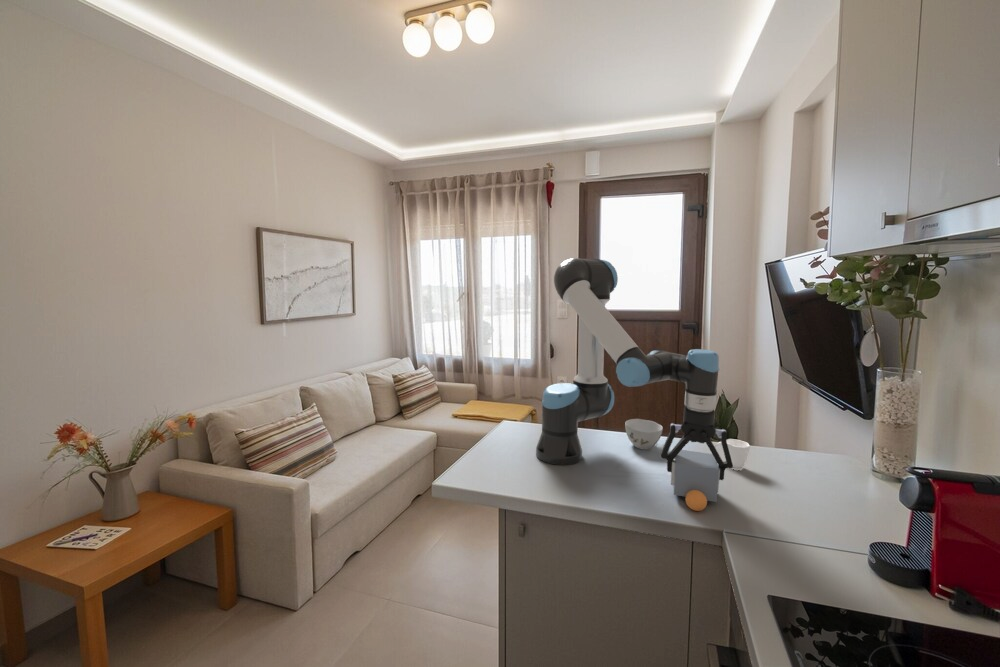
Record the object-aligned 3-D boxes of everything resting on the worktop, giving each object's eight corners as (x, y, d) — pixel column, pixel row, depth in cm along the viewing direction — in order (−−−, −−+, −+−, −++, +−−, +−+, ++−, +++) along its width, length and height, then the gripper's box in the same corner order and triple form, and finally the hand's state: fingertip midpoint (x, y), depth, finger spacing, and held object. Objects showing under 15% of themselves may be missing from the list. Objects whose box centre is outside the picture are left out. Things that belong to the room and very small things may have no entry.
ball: (683, 497, 112) (684, 512, 108) (686, 484, 110) (687, 499, 106) (704, 501, 110) (706, 517, 106) (707, 487, 108) (709, 503, 104)
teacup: (649, 457, 140) (650, 433, 139) (616, 445, 149) (617, 423, 148) (671, 445, 150) (673, 423, 149) (639, 435, 159) (640, 414, 158)
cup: (745, 474, 128) (747, 449, 127) (709, 465, 134) (711, 440, 133) (750, 467, 133) (752, 442, 132) (715, 458, 140) (717, 434, 139)
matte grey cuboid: (673, 494, 113) (676, 463, 111) (672, 477, 122) (674, 448, 121) (716, 502, 109) (719, 469, 108) (712, 484, 118) (714, 454, 117)
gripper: (653, 406, 113) (649, 485, 116) (751, 417, 105) (743, 501, 108) (654, 399, 120) (649, 473, 123) (745, 408, 112) (738, 487, 115)
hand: (693, 486), depth 115 cm, fingers closed on matte grey cuboid, 10 cm apart
